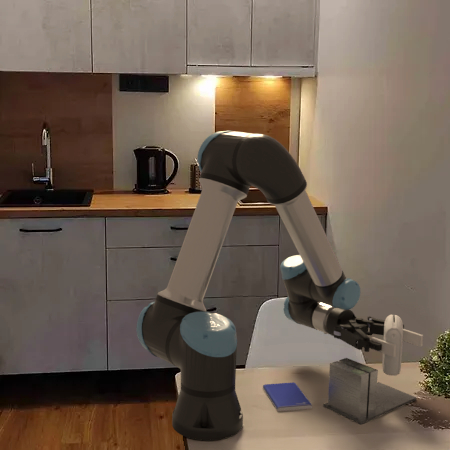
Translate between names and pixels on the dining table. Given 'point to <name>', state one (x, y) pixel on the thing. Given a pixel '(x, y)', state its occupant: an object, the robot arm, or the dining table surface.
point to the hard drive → (286, 396)
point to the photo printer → (394, 336)
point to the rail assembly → (361, 392)
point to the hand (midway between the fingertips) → (408, 345)
